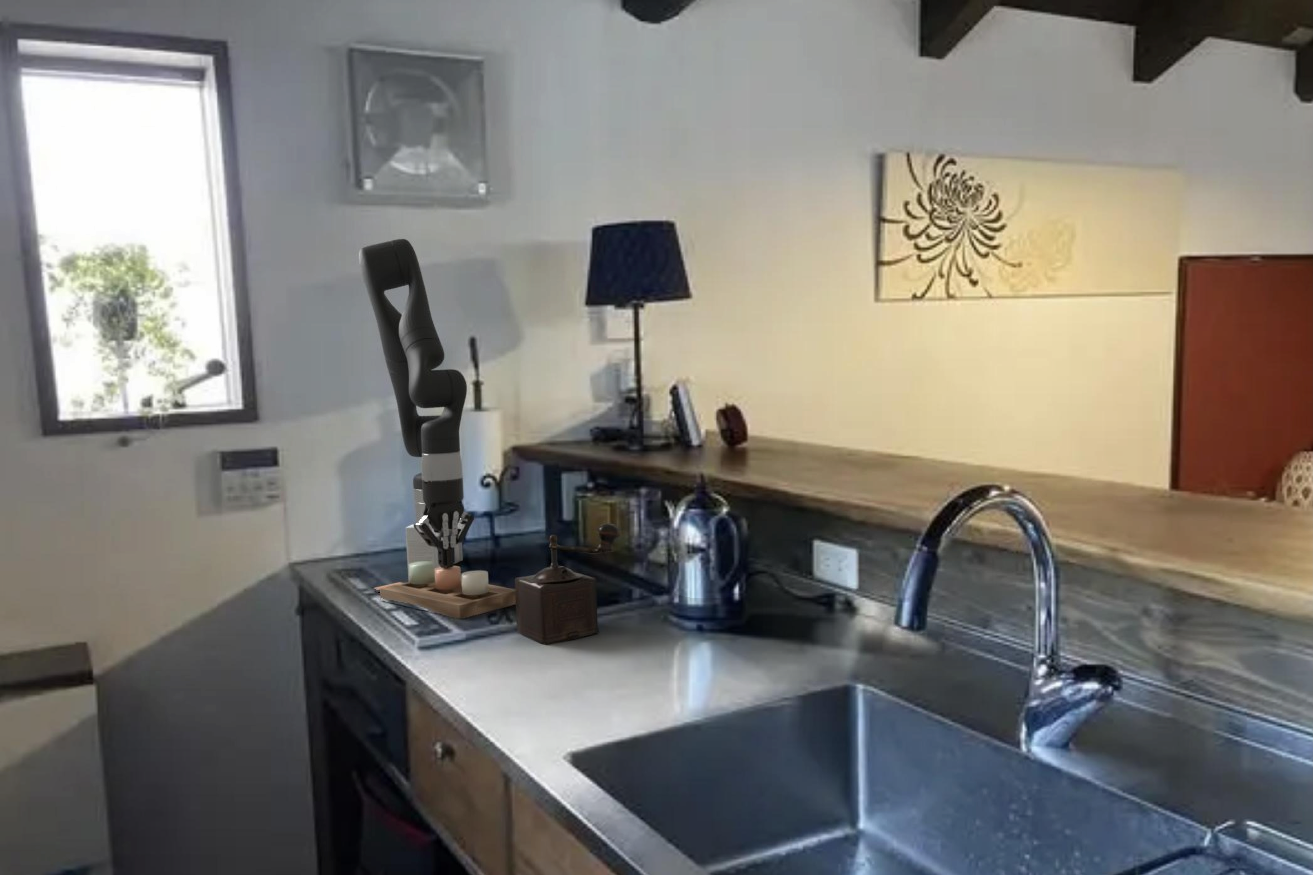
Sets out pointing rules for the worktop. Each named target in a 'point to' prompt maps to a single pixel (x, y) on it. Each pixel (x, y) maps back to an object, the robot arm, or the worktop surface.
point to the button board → (450, 598)
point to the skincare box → (419, 548)
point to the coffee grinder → (560, 596)
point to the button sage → (422, 572)
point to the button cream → (475, 582)
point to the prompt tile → (387, 585)
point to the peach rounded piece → (447, 578)
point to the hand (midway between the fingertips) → (446, 567)
